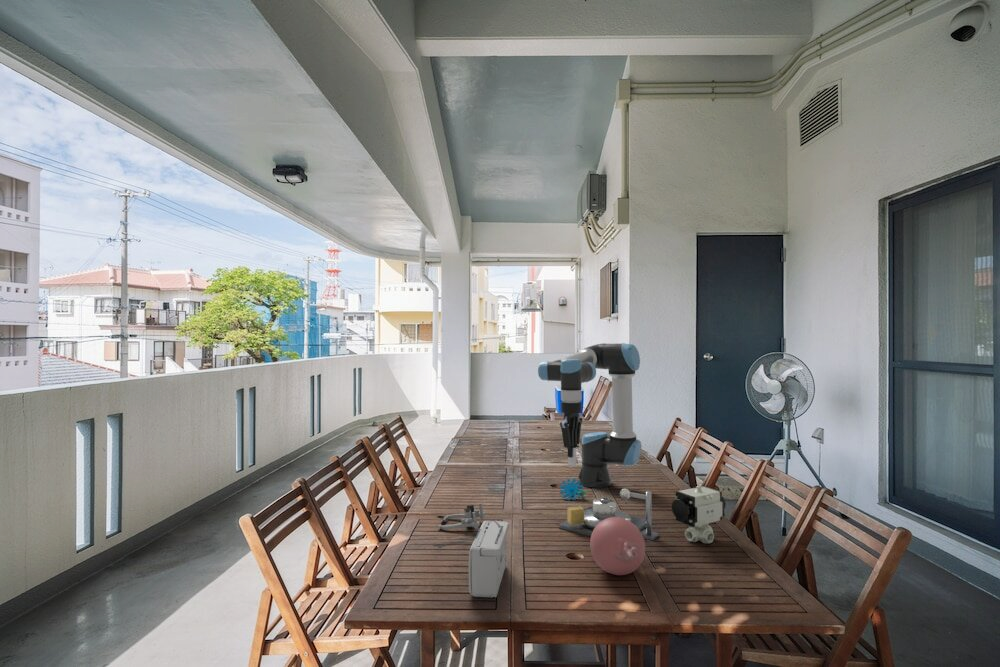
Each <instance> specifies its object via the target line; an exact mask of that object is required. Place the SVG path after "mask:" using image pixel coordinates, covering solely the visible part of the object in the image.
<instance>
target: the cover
mask: <svg viewBox="0 0 1000 667" xmlns="http://www.w3.org/2000/svg"><path fill="white" fill-rule="evenodd" d="M592 507H593V516H594V517H595V518H597V519H600V520H604V519H607V518H610V517H616V510H617V502H616V501H615V500H613V499H610V498H607V497H601V498H594V499H593V501H592Z"/></svg>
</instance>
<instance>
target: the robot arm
mask: <svg viewBox="0 0 1000 667" xmlns="http://www.w3.org/2000/svg"><path fill="white" fill-rule="evenodd" d="M640 364H641V358H640V352H639V350H638V348H637V346H636V345H634V344H633V343H626V342H625V343H606V342H605V343H598V344H594V345H590V346H587V347H584V348H582V349H580V350H579V351H578V352H577V353H573V354H570V355H569V356H566V357H563V358H560V359H556V360H554V361H541V362H540V363H539V365H538V368H537V372H538V373H537V374H538V377H539V379H540V380H542V381H548V382H550V381H551V382H560V390H561V391H560V400H561V402H560V411H561V412H562V413H563V421H560V422H559V425H560V426H559V427H560V429H561V434H562V436H561V437H562V442H563V447H564V448H566V449H567V466H569V467H576V466H577V449H578V448H579V445H580V441H581V468H580V471H579V474H578V477H577V482H578V481H580V484H579V486H580V485H583V487H587V488H596V489H597V488H607V487H610V486H611V485H612V476H611V475H610V472H609V468H608V464H614V465H615V464H616V465H620V466H627V467H629V466H631V467H633V466H636V465H637V464H638V462H639V459H640V458H641V457H640V456H641V453H642V442H641V440H640V439H637V433H635V432H634V427H633V426H634V425H633V377H634V376H635V375H636V371H638V370H639V369H640ZM597 369H600V370H608V375H609V376H610V377H611V386H612V387H611V389H612V393H611V394H612V399H611V400H612V431H611V432H610V433H609V435H608V432H605V431H597V432H596V431H595V432H589V433H585V434H583V435H582V436H581V432H582V431H581V429H582V423H583V418H582V417H580V414H579V413H581V412H582V410H583V408H582V399H583V398H582V397H583V395H582V393H583V392H582V383H589V382H590V381H593V380H594V379H595V378H596V376H597Z"/></svg>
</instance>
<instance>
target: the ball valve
mask: <svg viewBox="0 0 1000 667" xmlns="http://www.w3.org/2000/svg"><path fill="white" fill-rule="evenodd" d="M726 505H727V504H726V500H725V498H724V496H723V492H722V490H718V489H714V488H712V487H709V486H706V485H704V486H701V485H697V486H696V487H692V488H686V489H682V490H677V491H675V499H674V500H673V501H672V503H671V511H672V512H671V513H673V517H675V521H676V522H677V521H678V522H679V523H682V524H684V525H686V526H689V527H688V528H686V530H685V531H684V536H685V539H686V540H687V541H689V542H692V543H696V542H701V543H703V544H711V543H713V542H714V539H715V534H714V531H713V528H712V526H710V525H709V524H712V523H715V522H719V521H722V520H723V517H724V516H725V509H726Z"/></svg>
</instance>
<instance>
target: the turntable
mask: <svg viewBox="0 0 1000 667" xmlns="http://www.w3.org/2000/svg"><path fill="white" fill-rule="evenodd" d="M566 509H567V510H566V511H567V514H566V515H567V518H566V520H567V522H568V523H569V524H571V525H574V524H583V525H584V526H586V527H589V528H592V529H594V528H595V527H596V526H597V525H598V524H599V523H600V522H601V521H603V520H600V519H597V518H595V517H594V516H593V508H592V509H587V508H586V509H587V510H585V509H584V508H583V507H582V506H580V505H579V506H571V507H567V508H566ZM629 515H630V514H628V513H626V512H624V511H621V510H619V509H616V517H620V518H624V519H627V520H629V521H630V522H631V517H630V516H631V515H630V516H629Z"/></svg>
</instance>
